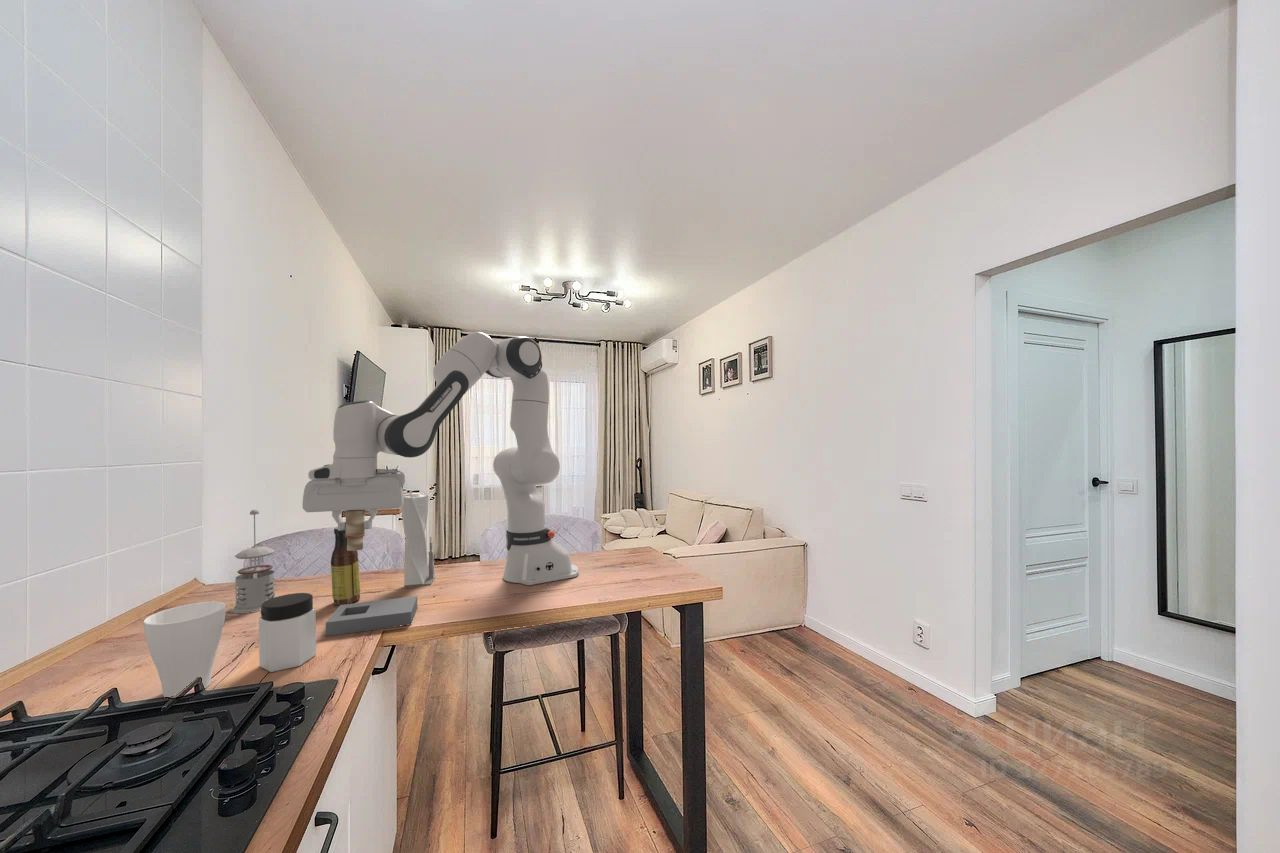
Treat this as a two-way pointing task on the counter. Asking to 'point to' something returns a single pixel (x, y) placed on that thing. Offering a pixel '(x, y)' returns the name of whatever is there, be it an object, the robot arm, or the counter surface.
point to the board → (371, 615)
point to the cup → (184, 643)
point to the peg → (355, 529)
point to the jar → (287, 631)
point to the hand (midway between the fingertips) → (355, 529)
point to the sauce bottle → (344, 571)
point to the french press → (254, 579)
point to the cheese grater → (416, 541)
